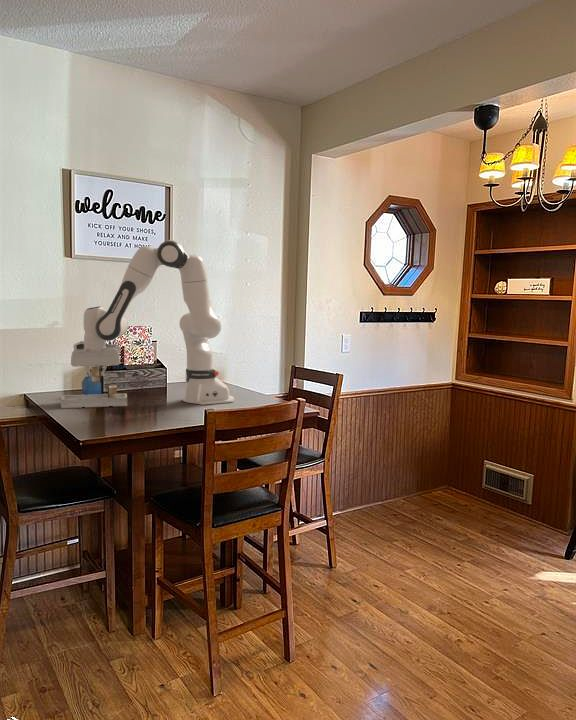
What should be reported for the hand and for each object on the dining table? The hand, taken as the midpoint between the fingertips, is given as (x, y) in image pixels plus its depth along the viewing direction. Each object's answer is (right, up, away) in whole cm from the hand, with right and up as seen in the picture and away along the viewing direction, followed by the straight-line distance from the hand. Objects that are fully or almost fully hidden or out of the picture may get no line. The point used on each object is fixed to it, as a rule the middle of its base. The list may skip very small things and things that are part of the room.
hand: (96, 376), depth 249 cm
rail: (+2, -12, -7) cm, 14 cm away
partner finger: (+9, -10, -6) cm, 15 cm away
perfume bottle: (-5, -10, +10) cm, 15 cm away
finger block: (0, -2, 0) cm, 2 cm away
